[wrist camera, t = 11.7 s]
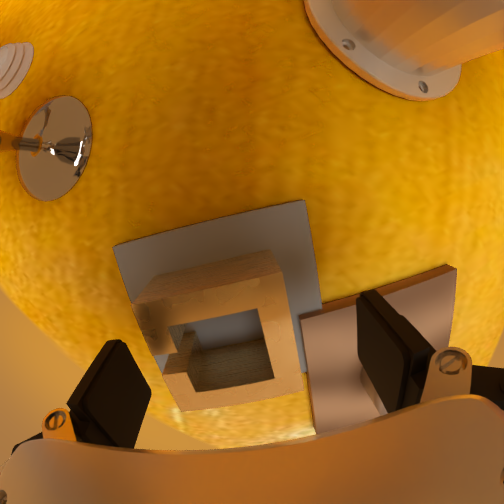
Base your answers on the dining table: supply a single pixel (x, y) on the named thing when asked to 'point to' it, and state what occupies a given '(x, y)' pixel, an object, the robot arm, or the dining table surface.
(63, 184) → the wine glass
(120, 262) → the mat
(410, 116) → the dining table surface
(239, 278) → the c link
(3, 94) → the chalice
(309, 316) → the stand
